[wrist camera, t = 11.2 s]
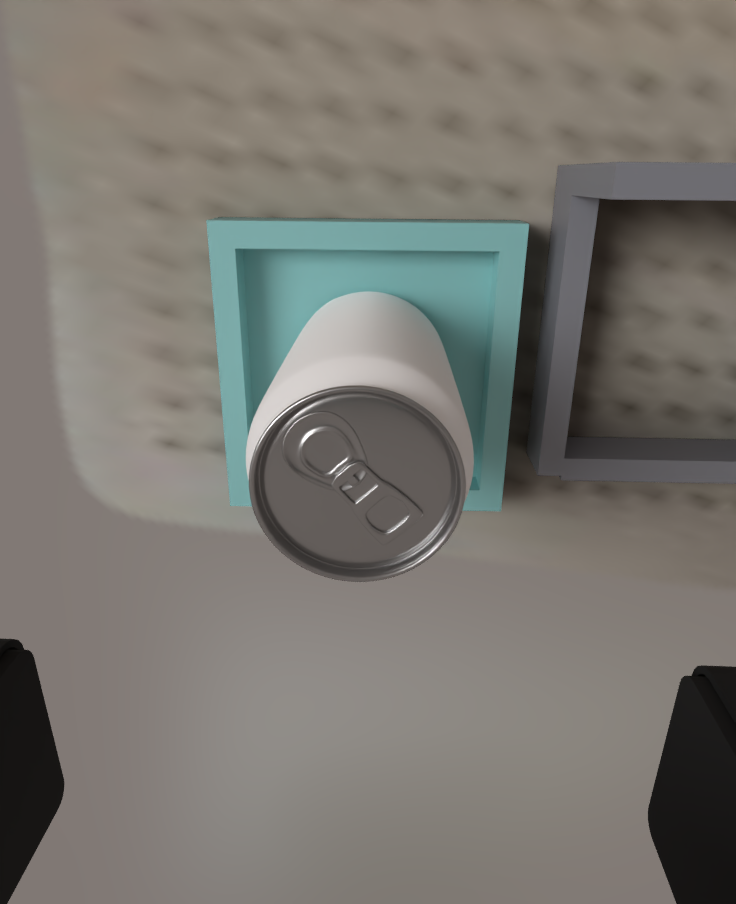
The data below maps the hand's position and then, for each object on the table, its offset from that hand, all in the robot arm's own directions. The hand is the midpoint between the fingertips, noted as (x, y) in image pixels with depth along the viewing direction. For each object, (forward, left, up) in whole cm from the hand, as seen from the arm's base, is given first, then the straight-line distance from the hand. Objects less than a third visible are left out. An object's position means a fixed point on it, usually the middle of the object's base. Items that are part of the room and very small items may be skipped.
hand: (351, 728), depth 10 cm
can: (0, 0, -20) cm, 20 cm away
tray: (0, 0, -21) cm, 21 cm away
